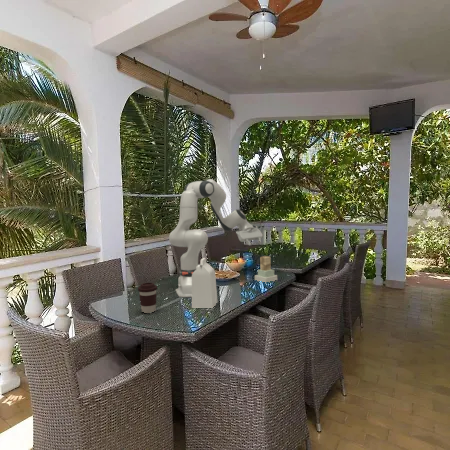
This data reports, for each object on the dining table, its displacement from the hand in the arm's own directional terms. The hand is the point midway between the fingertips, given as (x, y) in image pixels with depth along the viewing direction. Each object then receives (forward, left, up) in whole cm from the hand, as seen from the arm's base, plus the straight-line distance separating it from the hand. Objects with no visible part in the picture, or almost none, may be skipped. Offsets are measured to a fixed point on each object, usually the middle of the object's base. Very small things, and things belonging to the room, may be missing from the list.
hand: (255, 244), depth 251 cm
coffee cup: (-60, +69, -25) cm, 95 cm away
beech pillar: (-8, -5, -17) cm, 20 cm away
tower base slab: (-9, -5, -25) cm, 27 cm away
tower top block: (-9, -5, -21) cm, 23 cm away
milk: (-55, +39, -25) cm, 72 cm away
